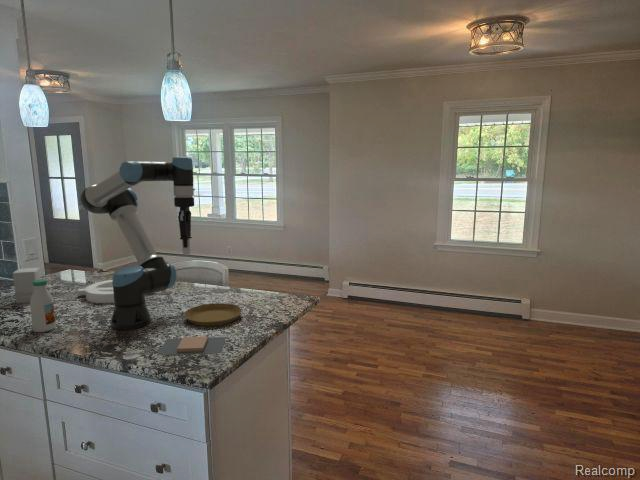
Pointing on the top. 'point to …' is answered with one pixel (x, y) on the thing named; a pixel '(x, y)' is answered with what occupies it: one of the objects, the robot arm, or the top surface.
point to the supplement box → (25, 283)
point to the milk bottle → (42, 308)
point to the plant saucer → (213, 314)
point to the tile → (192, 344)
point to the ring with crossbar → (99, 292)
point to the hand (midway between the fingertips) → (186, 254)
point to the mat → (211, 347)
